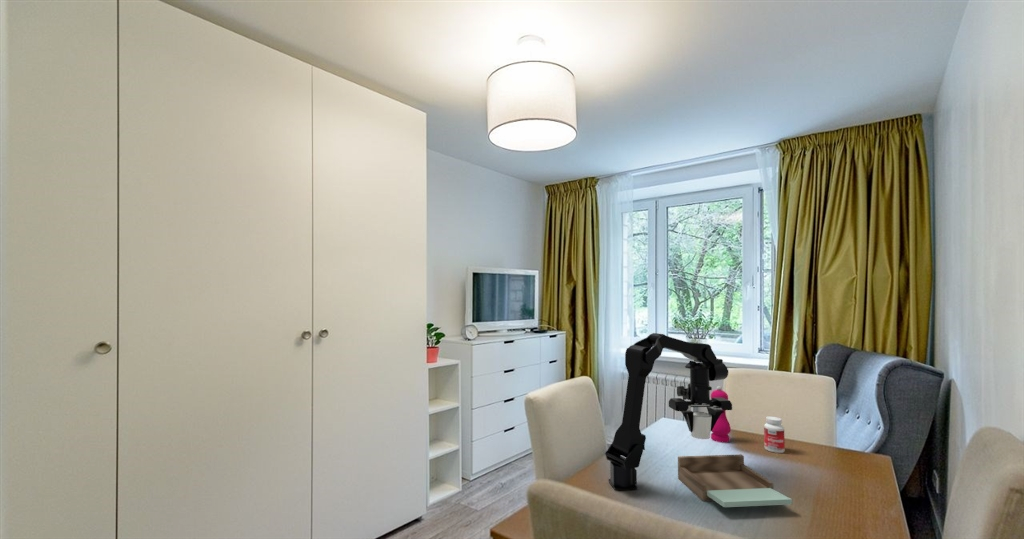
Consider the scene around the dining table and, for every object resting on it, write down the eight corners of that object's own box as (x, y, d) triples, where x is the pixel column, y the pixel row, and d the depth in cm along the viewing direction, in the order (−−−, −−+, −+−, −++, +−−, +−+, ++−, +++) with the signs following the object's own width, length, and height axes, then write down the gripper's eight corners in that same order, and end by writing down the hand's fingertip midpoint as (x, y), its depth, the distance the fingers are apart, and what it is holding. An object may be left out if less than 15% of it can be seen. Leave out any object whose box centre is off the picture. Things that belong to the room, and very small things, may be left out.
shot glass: (714, 440, 138) (714, 417, 138) (691, 438, 139) (690, 416, 140) (709, 433, 145) (709, 411, 145) (687, 432, 146) (686, 410, 146)
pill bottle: (766, 452, 154) (765, 419, 154) (762, 446, 160) (762, 415, 160) (786, 454, 152) (785, 421, 152) (782, 448, 157) (781, 416, 158)
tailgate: (706, 495, 117) (723, 507, 110) (706, 490, 118) (723, 502, 110) (770, 492, 119) (792, 504, 111) (770, 488, 119) (791, 499, 111)
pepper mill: (734, 443, 163) (733, 388, 164) (714, 443, 163) (713, 388, 164) (725, 436, 170) (724, 384, 171) (706, 436, 170) (705, 383, 171)
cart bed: (702, 501, 118) (702, 476, 118) (678, 478, 132) (677, 456, 132) (773, 498, 120) (772, 473, 120) (741, 476, 133) (741, 454, 134)
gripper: (713, 377, 152) (714, 423, 151) (661, 377, 150) (661, 424, 149) (732, 383, 141) (733, 433, 140) (676, 384, 139) (677, 435, 138)
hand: (700, 431), depth 142 cm, fingers closed on shot glass, 6 cm apart
